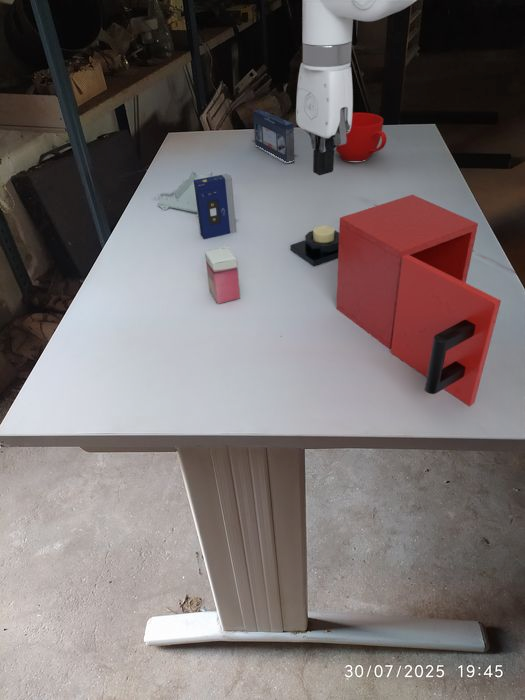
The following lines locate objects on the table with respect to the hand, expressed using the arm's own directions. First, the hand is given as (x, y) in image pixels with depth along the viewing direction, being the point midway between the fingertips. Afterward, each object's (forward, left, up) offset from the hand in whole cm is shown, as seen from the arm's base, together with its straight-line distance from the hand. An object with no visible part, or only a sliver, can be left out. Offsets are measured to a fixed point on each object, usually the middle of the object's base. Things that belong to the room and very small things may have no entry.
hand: (323, 172), depth 95 cm
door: (+12, +39, -15) cm, 43 cm away
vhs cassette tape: (-22, -54, -16) cm, 60 cm away
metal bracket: (+9, -37, -16) cm, 41 cm away
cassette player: (+13, -19, -16) cm, 27 cm away
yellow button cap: (0, 0, -13) cm, 13 cm away
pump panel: (0, 0, -15) cm, 15 cm away
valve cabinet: (+3, +24, -15) cm, 29 cm away
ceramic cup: (-37, -35, -16) cm, 53 cm away
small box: (+23, +3, -16) cm, 28 cm away
